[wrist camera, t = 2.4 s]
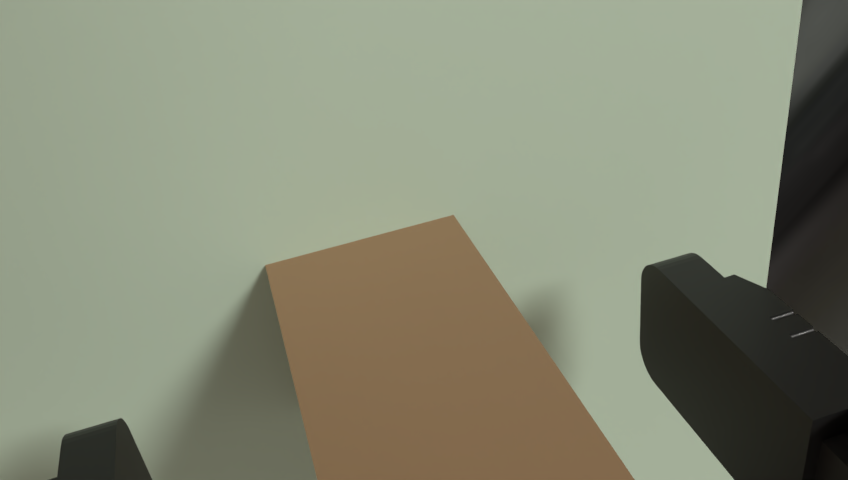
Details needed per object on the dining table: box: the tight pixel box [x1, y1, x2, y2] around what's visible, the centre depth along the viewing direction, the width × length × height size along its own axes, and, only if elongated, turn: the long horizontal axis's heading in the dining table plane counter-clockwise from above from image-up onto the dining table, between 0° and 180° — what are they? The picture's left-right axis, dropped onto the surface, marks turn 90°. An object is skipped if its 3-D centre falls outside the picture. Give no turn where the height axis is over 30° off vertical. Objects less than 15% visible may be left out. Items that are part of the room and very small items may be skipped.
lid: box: [0, 0, 803, 480], centre depth 11 cm, size 15×15×7 cm
